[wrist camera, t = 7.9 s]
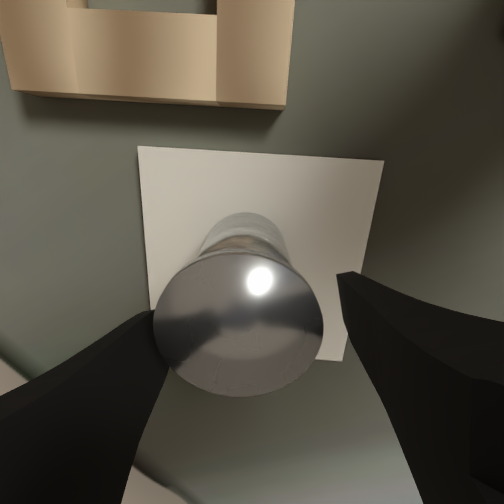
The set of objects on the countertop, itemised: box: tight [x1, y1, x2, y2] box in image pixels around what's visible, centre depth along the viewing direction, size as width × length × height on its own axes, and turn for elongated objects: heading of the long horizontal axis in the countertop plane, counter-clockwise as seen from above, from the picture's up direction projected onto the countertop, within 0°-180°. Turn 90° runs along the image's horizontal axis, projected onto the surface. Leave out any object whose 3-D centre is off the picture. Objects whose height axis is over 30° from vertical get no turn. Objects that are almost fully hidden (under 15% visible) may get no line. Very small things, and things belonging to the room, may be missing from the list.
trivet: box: [138, 146, 384, 361], centre depth 16 cm, size 12×12×1 cm
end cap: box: [153, 212, 324, 397], centre depth 12 cm, size 5×5×7 cm
